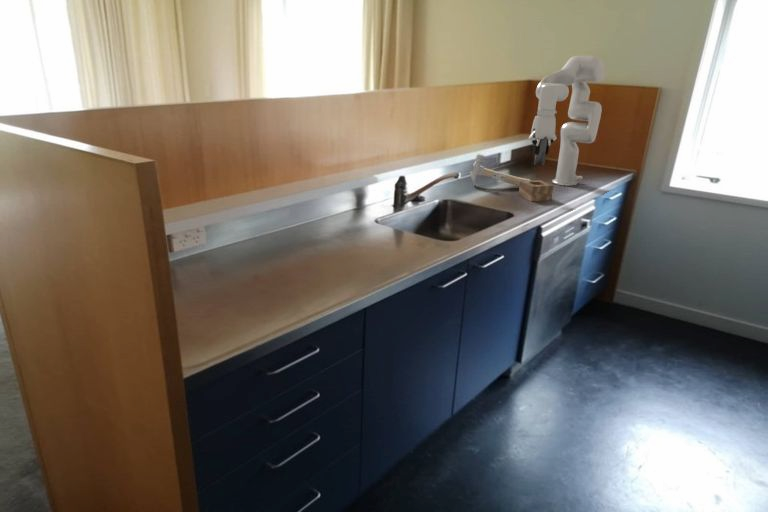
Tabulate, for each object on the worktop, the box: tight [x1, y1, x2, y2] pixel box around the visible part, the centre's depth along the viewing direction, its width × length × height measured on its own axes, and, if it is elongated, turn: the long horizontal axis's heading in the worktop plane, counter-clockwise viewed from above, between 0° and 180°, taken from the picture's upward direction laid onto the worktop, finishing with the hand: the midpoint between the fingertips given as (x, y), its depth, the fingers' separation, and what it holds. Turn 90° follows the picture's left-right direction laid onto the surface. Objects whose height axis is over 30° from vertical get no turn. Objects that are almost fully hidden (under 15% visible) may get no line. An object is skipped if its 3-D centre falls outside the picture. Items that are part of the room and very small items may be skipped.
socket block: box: [518, 179, 554, 202], centre depth 251 cm, size 11×11×7 cm
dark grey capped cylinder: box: [533, 136, 548, 166], centre depth 243 cm, size 4×4×14 cm
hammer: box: [470, 153, 532, 187], centre depth 268 cm, size 16×5×30 cm
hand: (540, 153), depth 244 cm, fingers closed on dark grey capped cylinder, 4 cm apart
